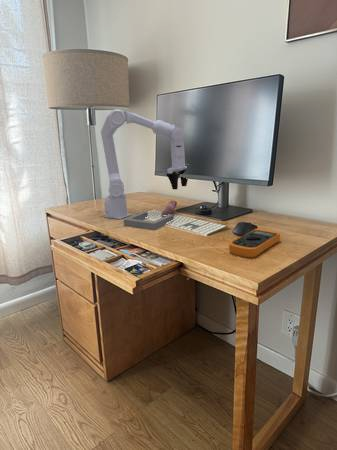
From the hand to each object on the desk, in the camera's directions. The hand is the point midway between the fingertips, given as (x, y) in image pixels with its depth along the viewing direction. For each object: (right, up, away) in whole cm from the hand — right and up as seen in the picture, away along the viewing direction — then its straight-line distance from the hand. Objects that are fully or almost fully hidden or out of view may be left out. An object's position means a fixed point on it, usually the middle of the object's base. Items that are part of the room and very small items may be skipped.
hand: (179, 187), depth 138 cm
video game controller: (-4, -12, -1) cm, 13 cm away
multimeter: (+21, -24, -44) cm, 54 cm away
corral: (-13, -16, -13) cm, 24 cm away
